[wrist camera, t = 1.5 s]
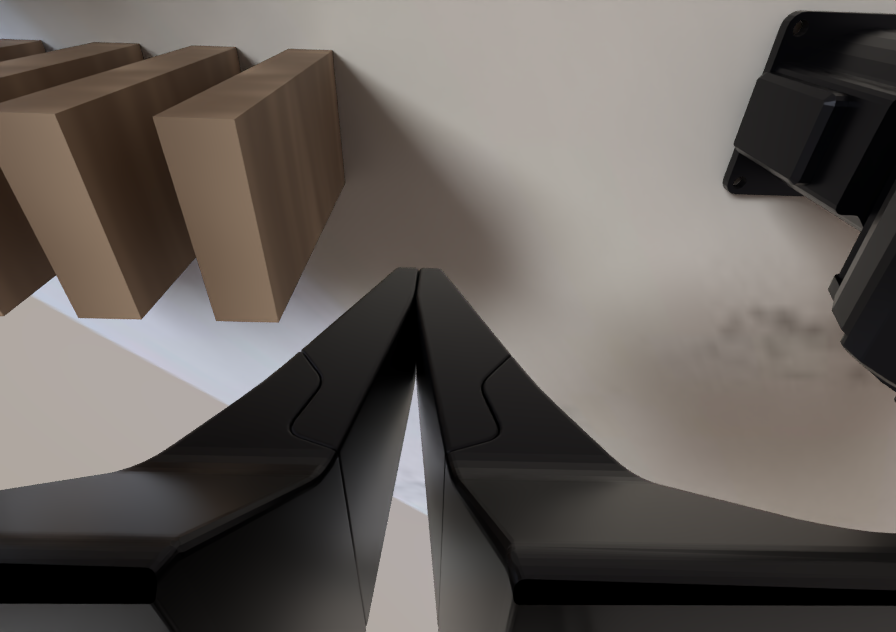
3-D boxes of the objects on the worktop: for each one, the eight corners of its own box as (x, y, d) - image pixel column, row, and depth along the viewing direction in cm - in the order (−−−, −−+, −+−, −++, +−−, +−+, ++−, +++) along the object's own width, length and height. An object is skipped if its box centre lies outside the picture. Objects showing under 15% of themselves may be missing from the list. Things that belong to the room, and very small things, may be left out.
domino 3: (332, 50, 18) (234, 119, 10) (345, 183, 21) (278, 322, 12) (288, 48, 18) (152, 116, 9) (307, 182, 21) (216, 321, 12)
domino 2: (236, 47, 18) (54, 113, 9) (262, 180, 20) (141, 319, 12) (191, 45, 18) (-29, 111, 9) (224, 179, 20) (78, 317, 12)
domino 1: (138, 43, 17) (-127, 108, 9) (179, 178, 20) (4, 316, 12) (94, 42, 17) (-212, 105, 9) (141, 177, 20) (-60, 314, 12)
